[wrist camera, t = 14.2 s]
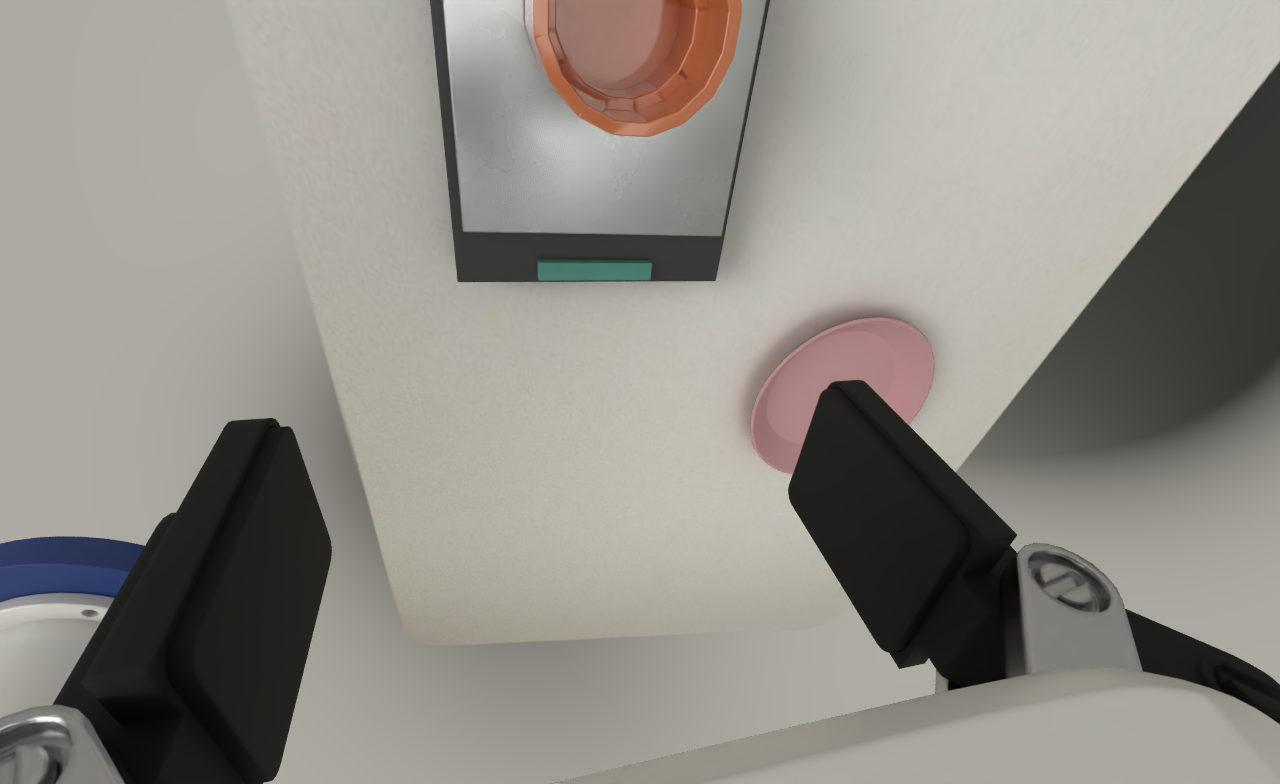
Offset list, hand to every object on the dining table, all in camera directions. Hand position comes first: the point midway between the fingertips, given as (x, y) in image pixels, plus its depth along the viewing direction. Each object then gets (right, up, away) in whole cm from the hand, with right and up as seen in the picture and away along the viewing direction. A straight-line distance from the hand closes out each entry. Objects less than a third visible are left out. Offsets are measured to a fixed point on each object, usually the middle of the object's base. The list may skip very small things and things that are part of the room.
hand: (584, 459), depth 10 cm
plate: (+15, +2, +32) cm, 36 cm away
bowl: (0, +16, +12) cm, 20 cm away
